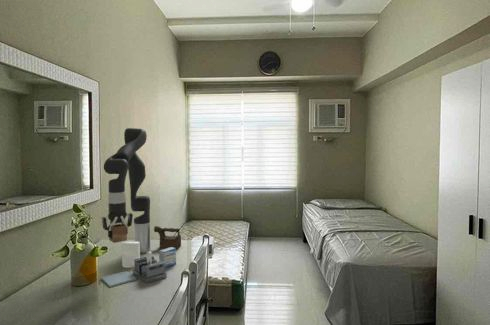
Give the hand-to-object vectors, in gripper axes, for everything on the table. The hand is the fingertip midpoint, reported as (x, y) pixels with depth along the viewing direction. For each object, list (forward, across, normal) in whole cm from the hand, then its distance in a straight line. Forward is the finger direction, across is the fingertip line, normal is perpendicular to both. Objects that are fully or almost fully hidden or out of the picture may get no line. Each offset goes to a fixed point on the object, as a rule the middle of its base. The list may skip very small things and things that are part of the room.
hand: (117, 236), depth 149 cm
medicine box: (+21, -26, -1) cm, 33 cm away
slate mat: (+20, 0, 0) cm, 20 cm away
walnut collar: (+2, 0, 0) cm, 2 cm away
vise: (+20, -13, +5) cm, 25 cm away
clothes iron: (+21, -41, -28) cm, 54 cm away
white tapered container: (+21, -12, -15) cm, 28 cm away
